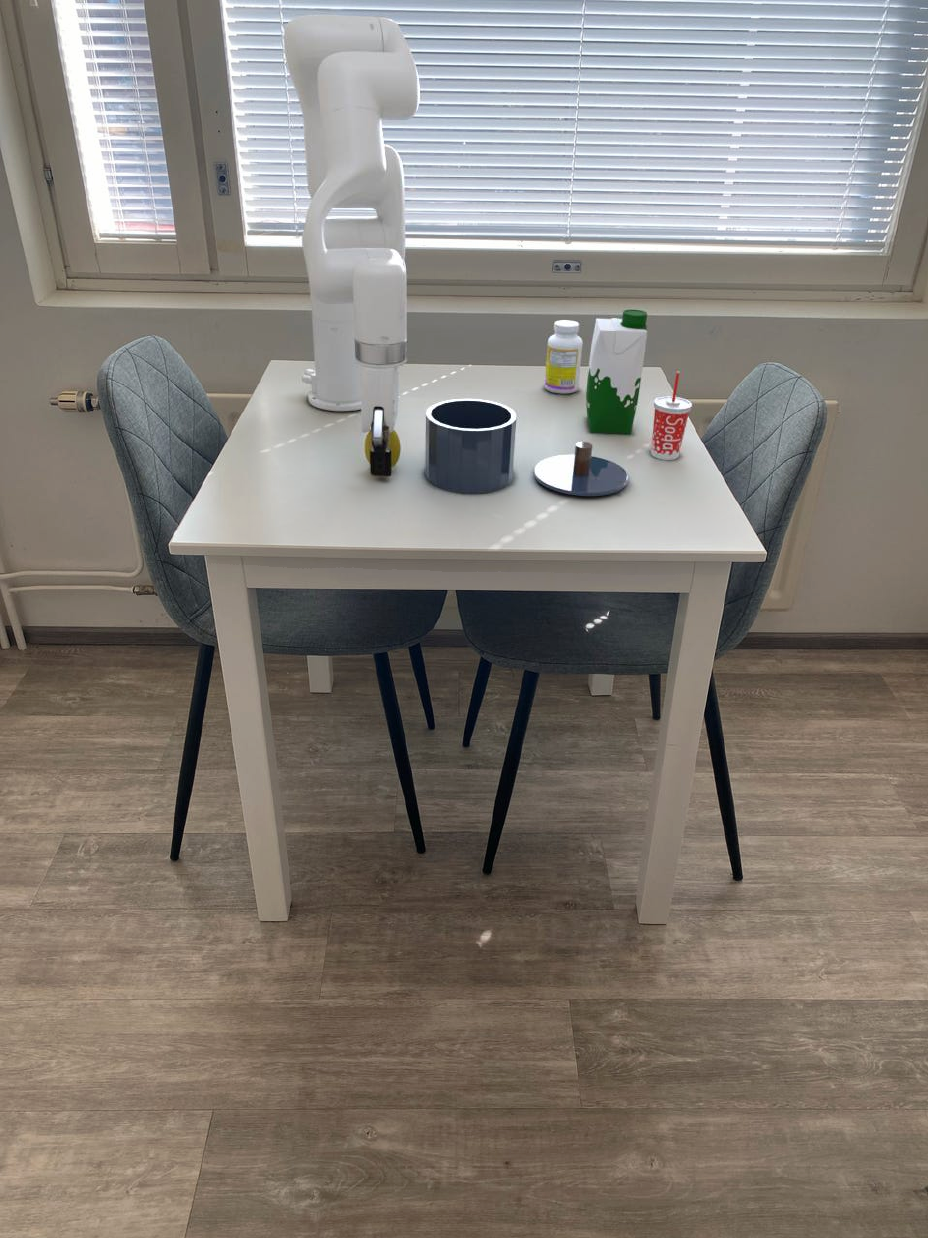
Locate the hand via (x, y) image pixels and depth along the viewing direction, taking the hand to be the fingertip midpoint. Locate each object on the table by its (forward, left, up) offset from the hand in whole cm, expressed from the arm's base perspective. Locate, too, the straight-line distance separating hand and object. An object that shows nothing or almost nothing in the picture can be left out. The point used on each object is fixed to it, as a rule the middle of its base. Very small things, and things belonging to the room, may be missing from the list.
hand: (383, 465), depth 140 cm
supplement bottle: (+5, +53, -1) cm, 53 cm away
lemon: (0, 0, -1) cm, 1 cm away
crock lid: (+27, +16, -1) cm, 31 cm away
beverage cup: (+34, +34, -1) cm, 48 cm away
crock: (+12, +7, -1) cm, 14 cm away
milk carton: (+21, +40, -1) cm, 45 cm away
